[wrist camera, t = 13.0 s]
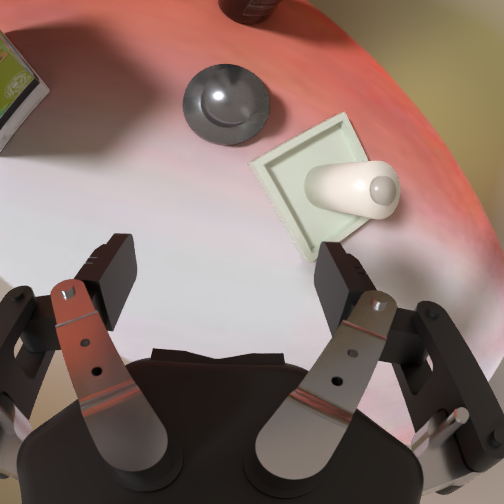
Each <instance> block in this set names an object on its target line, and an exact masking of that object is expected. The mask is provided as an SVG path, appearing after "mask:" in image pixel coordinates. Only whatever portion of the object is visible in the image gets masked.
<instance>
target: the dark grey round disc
mask: <svg viewBox="0 0 504 504" xmlns="http://www.w3.org/2000/svg"><path fill="white" fill-rule="evenodd" d="M269 110H270V100H269V95H268V92H267V90H266V88H265V86H264V84H263V83H262V81H261V80H260V79H259V78H258V77H257V76H256V75H255V74H254V73H252V72H251V71H249V70H247V69H245V68H243V67H240V66H237V65H232V64H219V65H214V66H211V67H208V68H206V69H204V70H202V71H201V72H199V73H198V74H197V75H196V76H195V77H193V79H192V80H191V81H190V83H189V84H188V86H187V88H186V91H185V94H184V99H183V112H184V116H185V119H186V121H187V123H188V125H189V126H190V128H191V129H192V130H193V131H194V132H195V133H196V134H197V135H198V136H199V137H201V138H202V139H204V140H206V141H208V142H211V143H214V144H218V145H234V144H238V143H241V142H244V141H246V140H248V139H250V138H251V137H253V136H254V135H256V134H257V133H258V132H259V131H260V130H261V129H262V127H263V126H264V124H265V123H266V121H267V118H268V115H269Z"/></svg>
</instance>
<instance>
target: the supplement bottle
mask: <svg viewBox="0 0 504 504" xmlns="http://www.w3.org/2000/svg"><path fill="white" fill-rule="evenodd" d="M281 1H282V0H218V3H219V7H220V9H221V10H222V12H223V13H224V14H225V15H226V16H227V17H229V18H231V19H232V20H235V21H237V22H241V23H247V24H254V23H259V22H263V21H265V20H266V19H268V18H269V17H270V16H271V15H272V14H273V12H274V11H275V10H276V8H277V7H278V6H279V4H280V3H281Z"/></svg>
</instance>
